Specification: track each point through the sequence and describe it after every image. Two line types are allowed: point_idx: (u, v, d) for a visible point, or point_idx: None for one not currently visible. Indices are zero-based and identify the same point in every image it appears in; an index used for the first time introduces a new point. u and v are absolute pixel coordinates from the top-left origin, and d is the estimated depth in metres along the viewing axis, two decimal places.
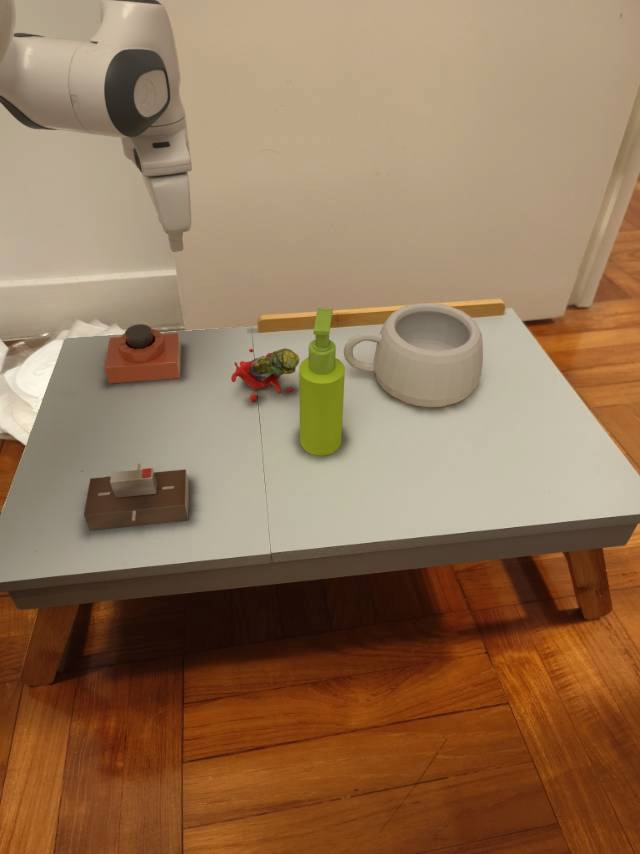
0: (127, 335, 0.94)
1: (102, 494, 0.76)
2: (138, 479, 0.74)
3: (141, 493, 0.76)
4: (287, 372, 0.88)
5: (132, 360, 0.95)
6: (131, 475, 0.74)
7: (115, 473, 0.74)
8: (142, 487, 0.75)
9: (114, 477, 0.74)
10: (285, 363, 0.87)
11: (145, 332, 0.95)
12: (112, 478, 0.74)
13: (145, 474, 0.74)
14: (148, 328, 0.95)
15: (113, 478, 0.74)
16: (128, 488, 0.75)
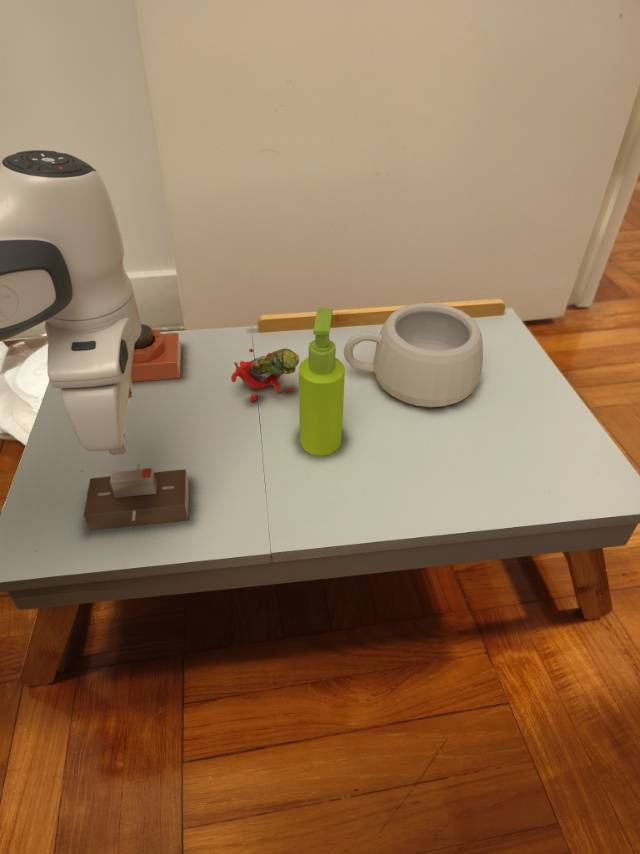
0: None
1: (102, 494, 0.76)
2: (138, 479, 0.74)
3: (141, 493, 0.76)
4: (287, 372, 0.88)
5: None
6: (131, 475, 0.74)
7: (115, 473, 0.74)
8: (142, 487, 0.75)
9: (114, 477, 0.74)
10: (285, 363, 0.87)
11: (145, 332, 0.95)
12: (112, 478, 0.74)
13: (145, 474, 0.74)
14: (148, 328, 0.95)
15: (113, 478, 0.74)
16: (128, 488, 0.75)
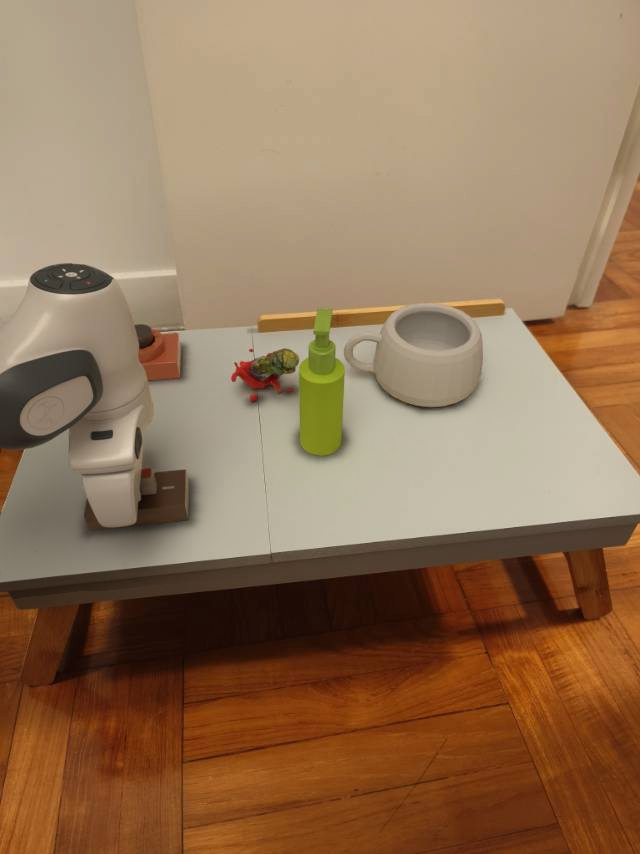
0: None
1: None
2: None
3: None
4: (287, 372, 0.88)
5: None
6: None
7: None
8: (142, 487, 0.75)
9: None
10: (285, 363, 0.87)
11: (145, 332, 0.95)
12: None
13: (145, 474, 0.74)
14: (148, 328, 0.95)
15: None
16: None
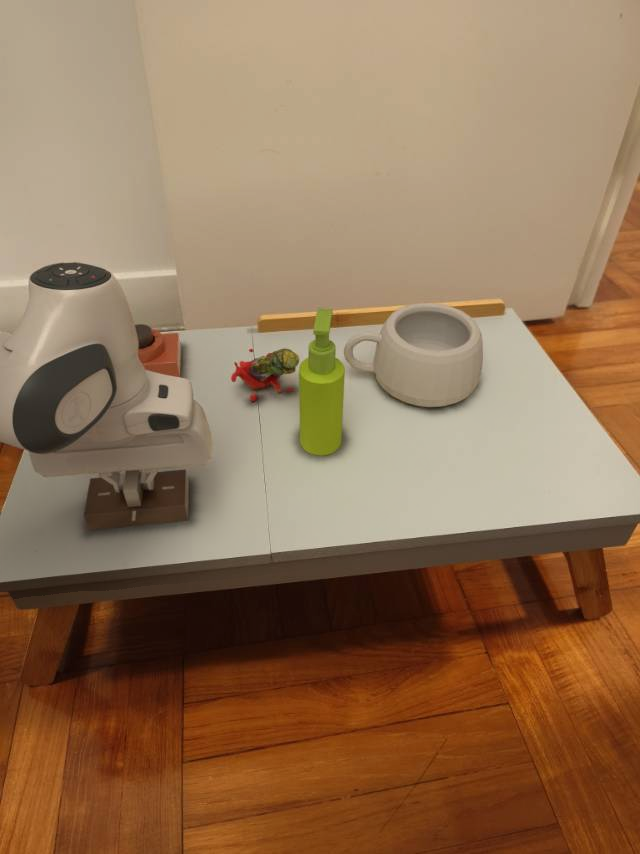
0: None
1: (102, 494, 0.76)
2: (139, 470, 0.75)
3: None
4: (287, 372, 0.88)
5: None
6: (132, 475, 0.74)
7: (125, 488, 0.73)
8: None
9: (131, 487, 0.73)
10: (285, 363, 0.87)
11: (145, 332, 0.95)
12: (132, 488, 0.73)
13: None
14: (148, 328, 0.95)
15: (132, 488, 0.73)
16: None
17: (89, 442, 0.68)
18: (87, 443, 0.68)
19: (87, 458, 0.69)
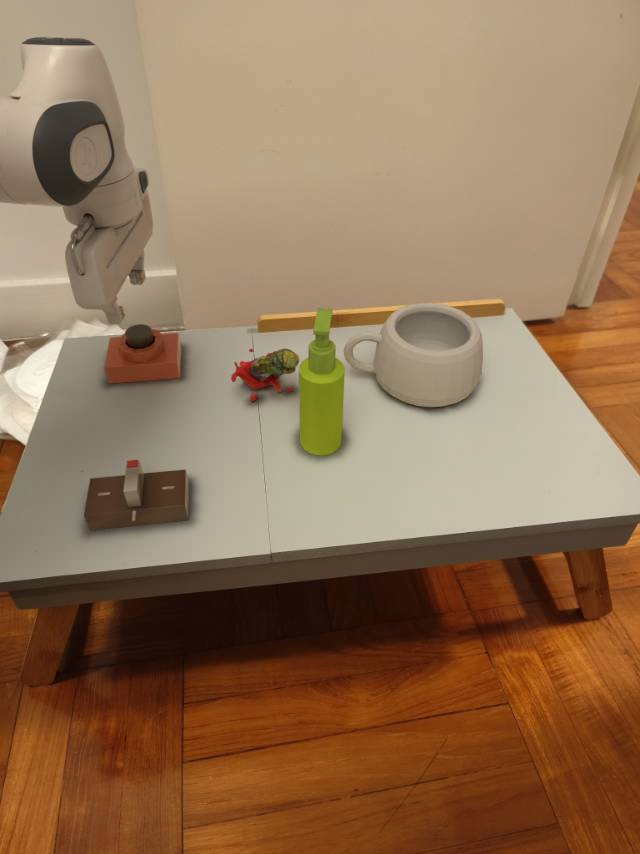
0: (127, 335, 0.94)
1: (102, 494, 0.76)
2: (139, 470, 0.75)
3: (142, 484, 0.77)
4: (287, 372, 0.88)
5: (132, 360, 0.95)
6: (132, 475, 0.74)
7: (125, 488, 0.73)
8: (141, 476, 0.76)
9: (131, 487, 0.73)
10: (285, 363, 0.87)
11: (145, 332, 0.95)
12: (132, 488, 0.73)
13: (135, 463, 0.75)
14: (148, 328, 0.95)
15: (133, 488, 0.73)
16: (140, 486, 0.75)
17: (114, 243, 0.72)
18: (114, 245, 0.72)
19: (119, 263, 0.73)
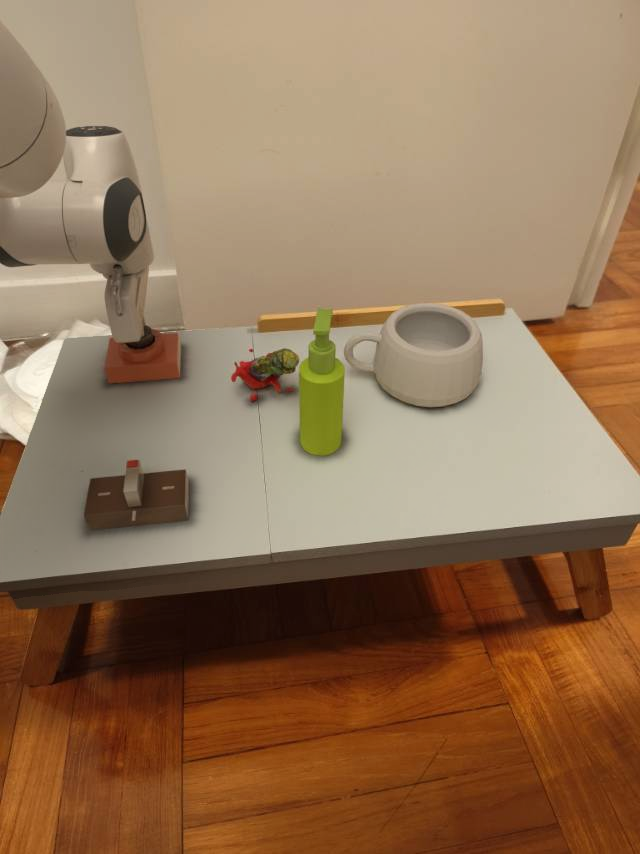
0: None
1: (102, 494, 0.76)
2: (139, 470, 0.75)
3: (142, 484, 0.77)
4: (287, 372, 0.88)
5: (132, 360, 0.95)
6: (132, 475, 0.74)
7: (125, 488, 0.73)
8: (141, 476, 0.76)
9: (131, 487, 0.73)
10: (285, 363, 0.87)
11: (145, 333, 0.95)
12: (132, 488, 0.73)
13: (135, 463, 0.75)
14: (148, 328, 0.96)
15: (133, 488, 0.73)
16: (140, 486, 0.75)
17: None
18: None
19: (140, 302, 0.87)
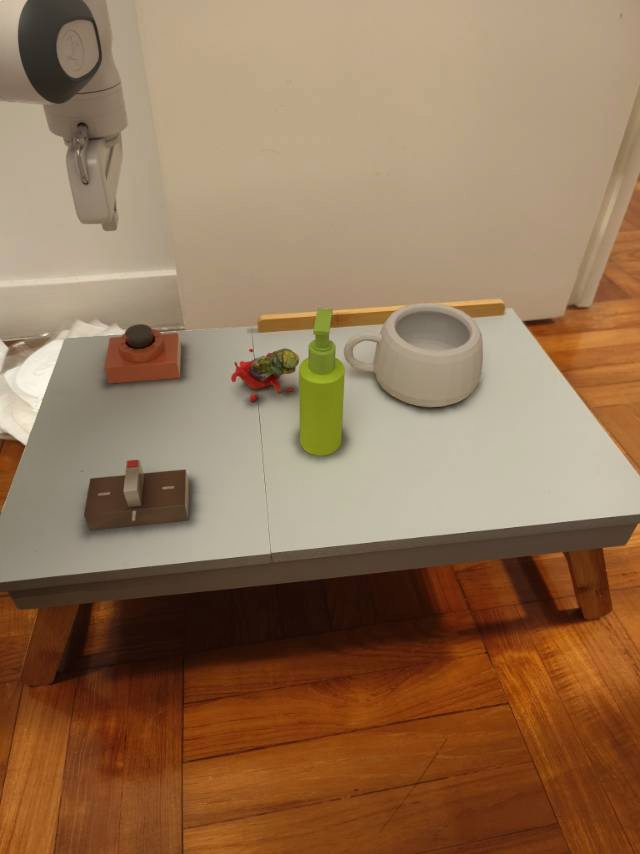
0: (127, 335, 0.94)
1: (102, 494, 0.76)
2: (139, 470, 0.75)
3: (142, 484, 0.77)
4: (287, 372, 0.88)
5: (132, 360, 0.95)
6: (132, 475, 0.74)
7: (125, 488, 0.73)
8: (141, 476, 0.76)
9: (131, 487, 0.73)
10: (285, 363, 0.87)
11: (145, 332, 0.95)
12: (132, 488, 0.73)
13: (135, 463, 0.75)
14: (148, 328, 0.95)
15: (133, 488, 0.73)
16: (140, 486, 0.75)
17: (105, 157, 0.71)
18: (105, 159, 0.71)
19: (111, 178, 0.72)
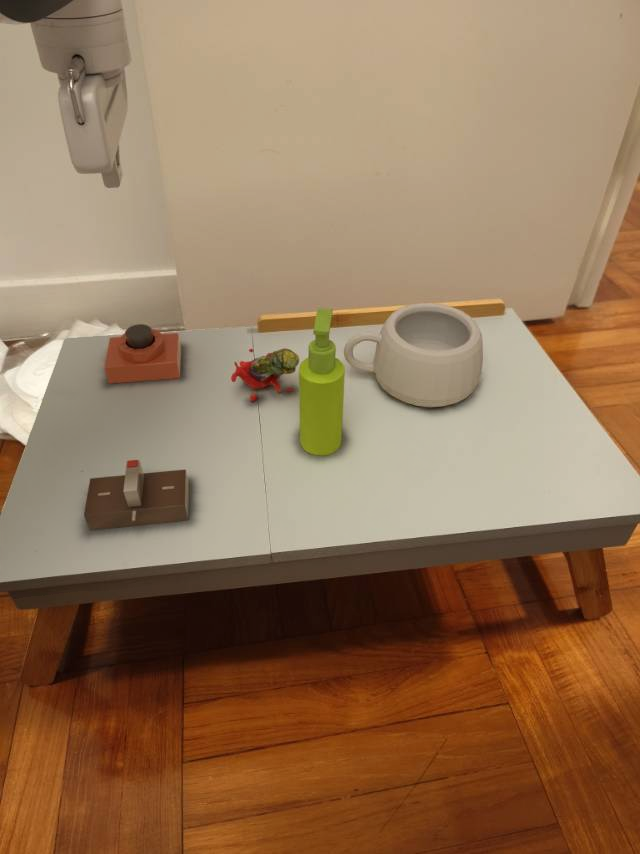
0: (127, 335, 0.94)
1: (102, 494, 0.76)
2: (139, 470, 0.75)
3: (142, 484, 0.77)
4: (287, 372, 0.88)
5: (132, 360, 0.95)
6: (132, 475, 0.74)
7: (125, 488, 0.73)
8: (141, 476, 0.76)
9: (131, 487, 0.73)
10: (285, 363, 0.87)
11: (145, 332, 0.95)
12: (132, 488, 0.73)
13: (135, 463, 0.75)
14: (148, 328, 0.95)
15: (133, 488, 0.73)
16: (140, 486, 0.75)
17: (105, 98, 0.62)
18: (105, 100, 0.62)
19: (112, 124, 0.63)
